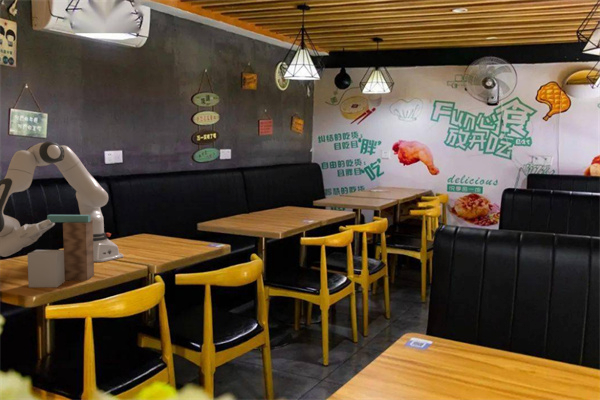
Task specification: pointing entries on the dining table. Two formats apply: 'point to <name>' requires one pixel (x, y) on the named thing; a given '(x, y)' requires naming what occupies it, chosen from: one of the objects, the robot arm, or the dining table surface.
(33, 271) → the grey block
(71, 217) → the rail
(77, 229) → the stand
